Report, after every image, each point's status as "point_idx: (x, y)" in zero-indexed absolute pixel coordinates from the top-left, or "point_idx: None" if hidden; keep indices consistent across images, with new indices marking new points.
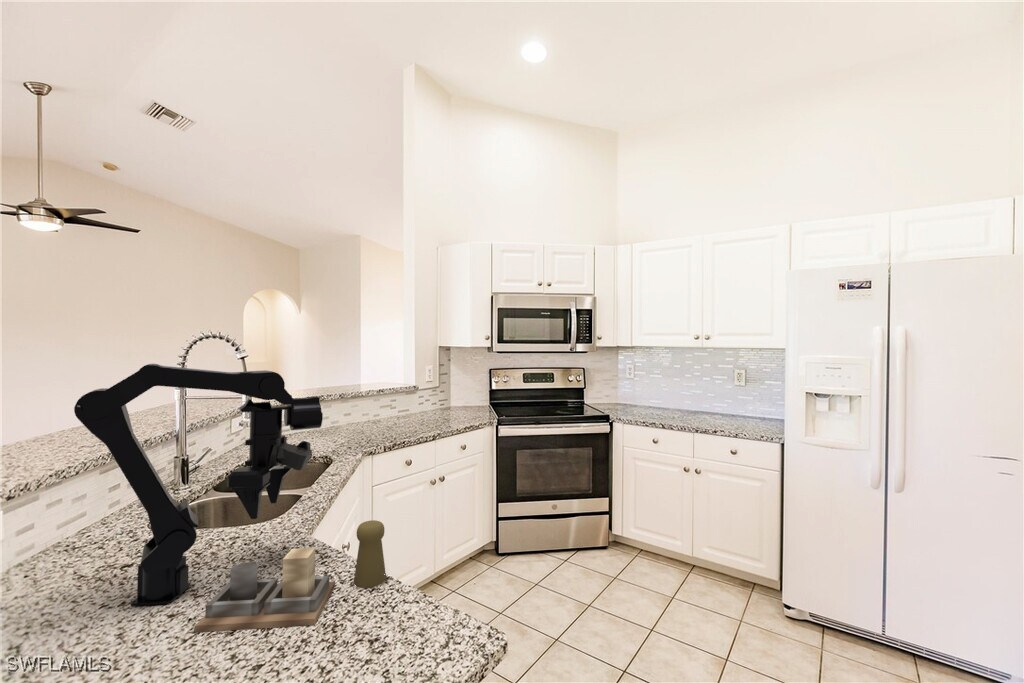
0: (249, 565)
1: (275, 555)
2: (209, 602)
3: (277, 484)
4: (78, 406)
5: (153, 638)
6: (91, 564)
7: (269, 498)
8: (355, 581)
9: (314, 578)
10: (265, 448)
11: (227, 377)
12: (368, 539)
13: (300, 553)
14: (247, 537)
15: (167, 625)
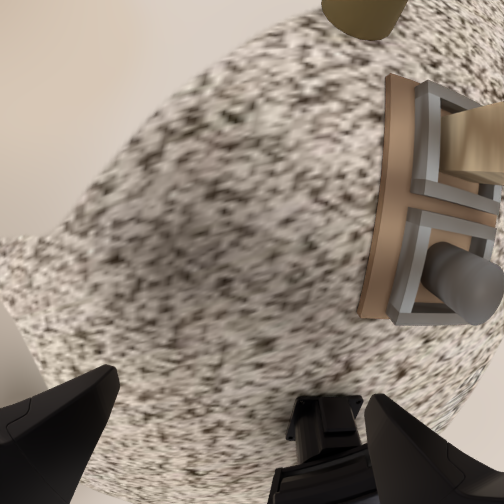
0: (481, 287)
1: (159, 271)
2: (464, 323)
3: (51, 434)
4: None
5: (451, 361)
6: (186, 491)
7: (111, 409)
8: (384, 34)
9: (458, 113)
10: None
11: None
12: None
13: None
14: (72, 353)
15: (428, 363)
